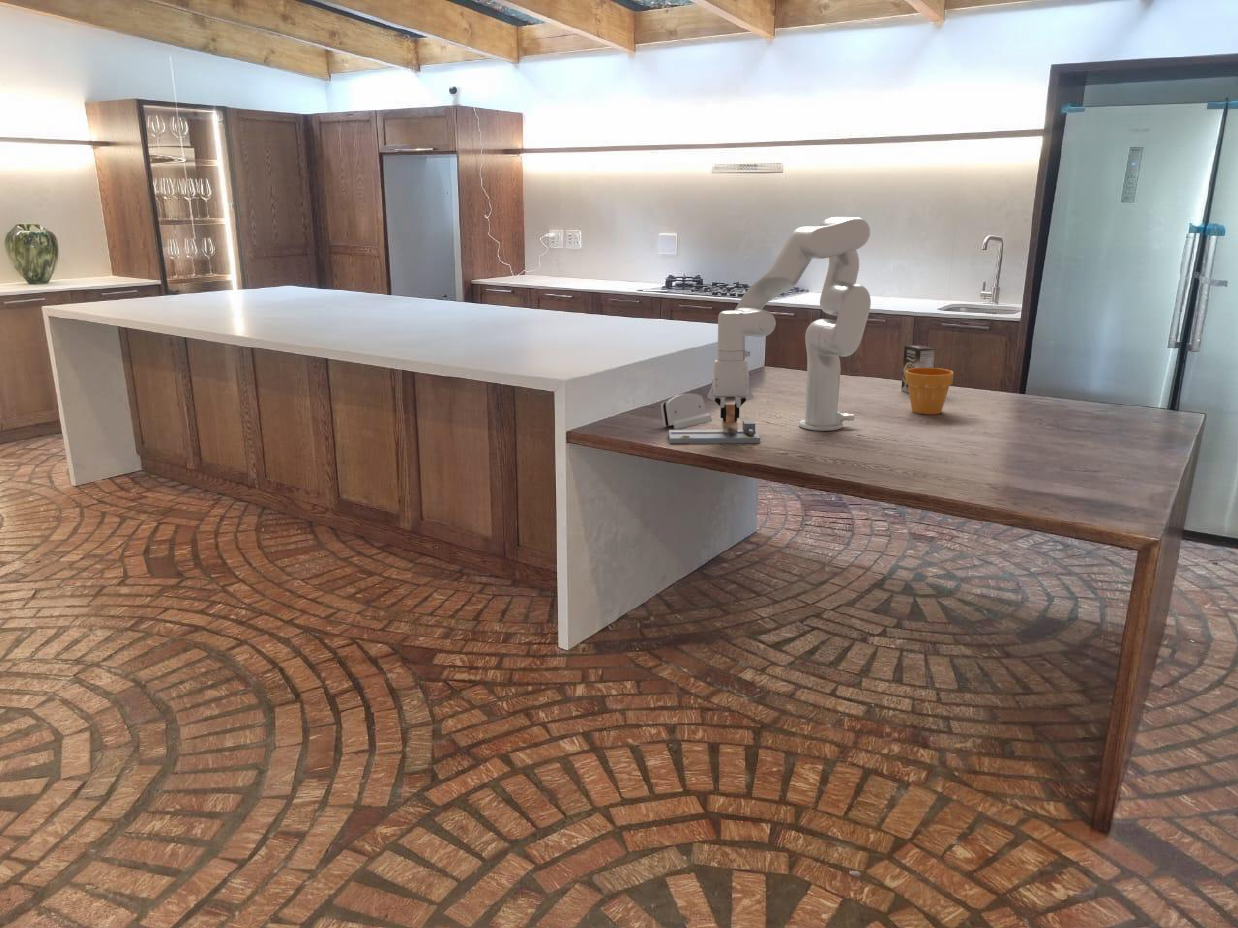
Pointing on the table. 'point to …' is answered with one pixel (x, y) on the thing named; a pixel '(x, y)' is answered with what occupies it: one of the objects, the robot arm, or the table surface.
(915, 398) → the flower pot
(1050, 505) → the table surface
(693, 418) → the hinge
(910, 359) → the coffee box
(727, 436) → the gauge board
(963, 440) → the table surface
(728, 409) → the block
